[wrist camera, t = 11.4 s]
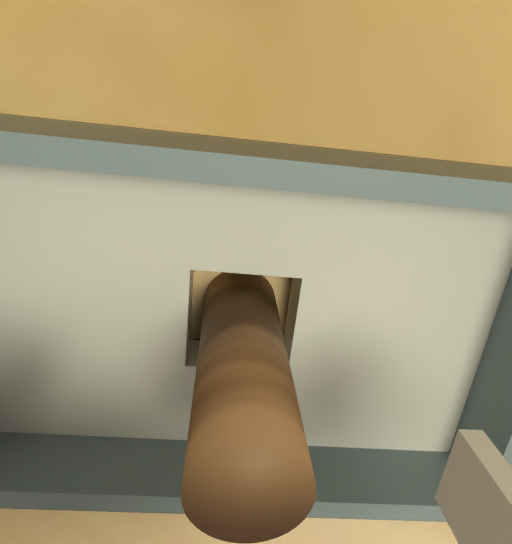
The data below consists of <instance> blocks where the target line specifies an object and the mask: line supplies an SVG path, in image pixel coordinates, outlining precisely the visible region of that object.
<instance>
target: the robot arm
mask: <svg viewBox="0 0 512 544" xmlns="http://www.w3.org/2000/svg"><path fill="white" fill-rule="evenodd" d="M435 500H436V501H437V503H438V505H439V507H440V509H441V511H442V513H443V515H444V517H445V519H446V521H447V522H448V524H449V526H450V528H451V530H452V532H453V534H454V536H455V538H456V540H457V541H458V543H459V544H512V467H511V466H510V465H509V463H508V462H507V461H506V460H505V458H504V457H503V456H502V454H501V453H500V452H499V450H498V449H497V448H496V447H495V445H494V444H493V443H492V441H491V440H490V439H489V437H488V436H487V435H486V434H485V432H484V431H483V430H465V429H458V432H457V435H456V438H455V441H454V444H453V446H452V449H451V452H450V455H449V458H448V461H447V464H446V466H445V469H444V472H443V475H442V478H441V481H440V483H439V486H438V489H437V492H436V495H435Z"/></svg>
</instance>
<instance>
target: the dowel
mask: <svg viewBox="0 0 512 544" xmlns="http://www.w3.org/2000/svg"><path fill="white" fill-rule="evenodd" d="M315 498H316V482H315V477H314V472H313V468H312V463H311V459H310V454H309V450H308V445H307V441H306V436H305V431H304V427H303V422H302V418H301V413H300V409H299V404H298V400H297V395H296V391H295V386H294V382H293V377H292V373H291V368H290V363H289V359H288V354H287V350H286V345H285V341H284V336H283V332H282V327H281V323H280V318H279V314H278V309H277V305H276V300H275V295H274V291H273V288H272V286H271V285H270V283H269V282H268V280H267V279H266V278H265V277H263V276H262V275H252V274H240V273H227V272H223V273H221V274H220V275H218V276H217V277H216V278H215V279H214V280H213V281H212V282H211V284H210V285H209V287H208V289H207V292H206V296H205V303H204V311H203V319H202V327H201V335H200V343H199V351H198V359H197V367H196V375H195V383H194V391H193V398H192V406H191V414H190V422H189V430H188V438H187V446H186V454H185V462H184V470H183V478H182V486H181V503H182V507H183V510H184V512H185V514H186V516H187V517H188V519H189V520H190V521H191V522H192V523H193V524H194V525H195V526H196V527H197V528H198V529H199V530H201V531H202V532H204V533H206V534H207V535H209V536H212V537H214V538H216V539H220V540H223V541H228V542H233V543H257V542H263V541H267V540H271V539H274V538H277V537H279V536H282V535H284V534H286V533H288V532H289V531H291V530H292V529H294V528H295V527H296V526H298V525H299V524H300V523H301V522H302V521H303V520H304V519H305V518H306V517H307V515H308V514H309V513H310V511H311V509H312V507H313V505H314V502H315Z"/></svg>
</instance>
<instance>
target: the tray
mask: <svg viewBox="0 0 512 544" xmlns="http://www.w3.org/2000/svg"><path fill="white" fill-rule="evenodd" d="M194 270H201V271H214V272H227V273H240V274H252V275H265V276H278V277H291V278H292V283H291V290H290V297H289V303H288V310H287V317H286V324H285V331H284V341H285V345H286V350H287V354H288V359H289V363H290V368H291V373H292V377H293V382H294V386H295V391H296V395H297V400H298V404H299V409H300V413H301V418H302V422H303V427H304V431H305V436H306V441H307V445H308V450H309V454H310V459H311V463H312V468H313V472H314V477H315V482H316V498H315V502H314V505H313V507H312V509H311V511H310V513H309V514H308V515H307V517H306V518H338V519H370V520H403V521H436V522H447V521H446V519H445V517H444V515H443V513H442V511H441V509H440V507H439V505H438V503H437V501H436V500H435V495H436V492H437V489H438V486H439V483H440V481H441V478H442V475H443V472H444V469H445V466H446V464H447V461H448V458H449V455H450V452H451V449H452V446H453V444H454V441H455V438H456V435H457V432H458V429H465V430H483V431H484V432H485V434H486V435H487V436H488V437H489V439H490V440H491V441H492V443H493V444H494V445H495V447H496V448H497V449H498V450H499V452H500V453H501V454H502V456H503V457H504V458H505V460H506V461H507V462H508V463H509V465H510V466H511V467H512V167H504V166H494V165H485V164H475V163H466V162H456V161H447V160H437V159H428V158H418V157H409V156H399V155H389V154H380V153H370V152H361V151H351V150H342V149H332V148H323V147H313V146H304V145H294V144H285V143H275V142H266V141H256V140H247V139H237V138H228V137H218V136H209V135H199V134H190V133H180V132H170V131H161V130H151V129H142V128H132V127H123V126H113V125H104V124H94V123H85V122H75V121H66V120H56V119H47V118H37V117H28V116H18V115H9V114H0V508H11V509H43V510H76V511H109V512H141V513H174V514H185V512H184V510H183V507H182V503H181V486H182V478H183V470H184V462H185V454H186V446H187V438H188V430H189V422H190V414H191V406H192V398H193V391H194V383H195V375H196V367H197V359H198V351H199V343H200V340H190V323H191V306H192V289H193V271H194Z"/></svg>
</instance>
